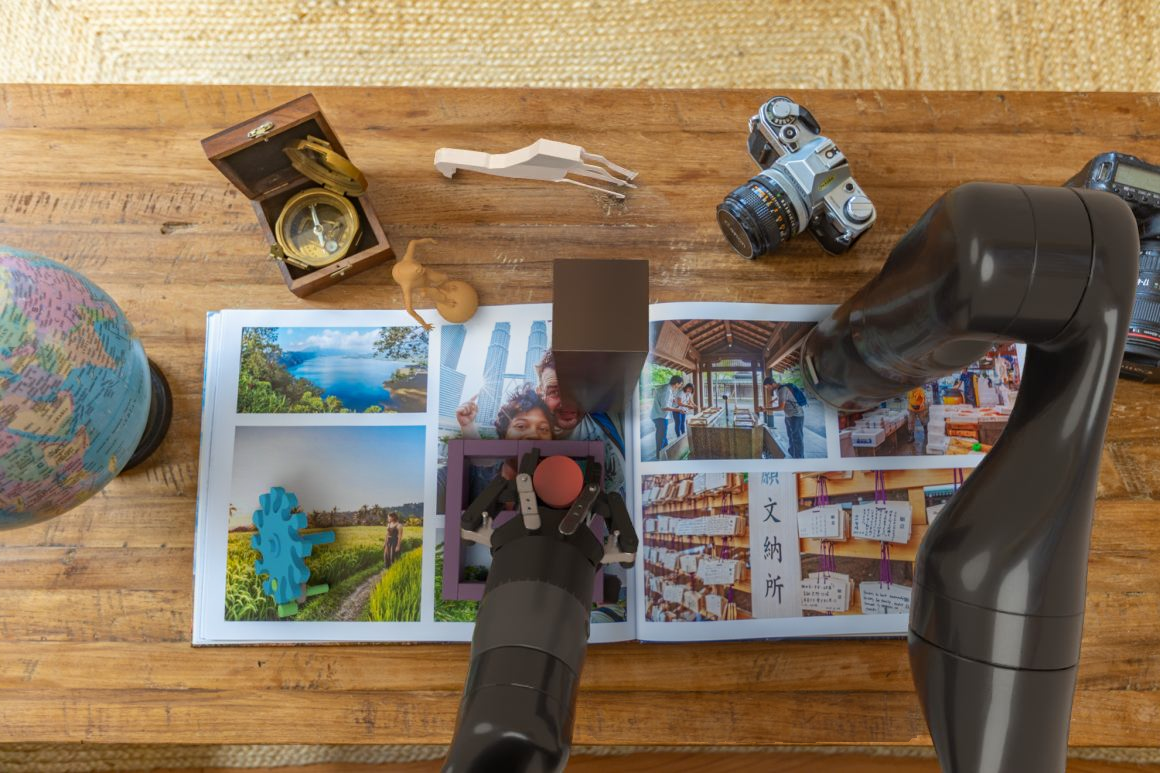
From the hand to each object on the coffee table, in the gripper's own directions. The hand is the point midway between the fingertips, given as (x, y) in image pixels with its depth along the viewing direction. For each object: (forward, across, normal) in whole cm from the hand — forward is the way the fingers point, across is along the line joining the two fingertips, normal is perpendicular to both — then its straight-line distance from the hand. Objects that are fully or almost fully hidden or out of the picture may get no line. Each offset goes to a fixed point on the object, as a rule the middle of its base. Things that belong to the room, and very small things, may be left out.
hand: (563, 460), depth 67 cm
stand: (+10, +2, +1) cm, 11 cm away
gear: (-3, -23, -12) cm, 26 cm away
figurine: (+14, -13, +5) cm, 20 cm away
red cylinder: (+1, 0, -4) cm, 5 cm away
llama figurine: (+24, -7, +15) cm, 29 cm away
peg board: (+1, -3, -8) cm, 9 cm away
